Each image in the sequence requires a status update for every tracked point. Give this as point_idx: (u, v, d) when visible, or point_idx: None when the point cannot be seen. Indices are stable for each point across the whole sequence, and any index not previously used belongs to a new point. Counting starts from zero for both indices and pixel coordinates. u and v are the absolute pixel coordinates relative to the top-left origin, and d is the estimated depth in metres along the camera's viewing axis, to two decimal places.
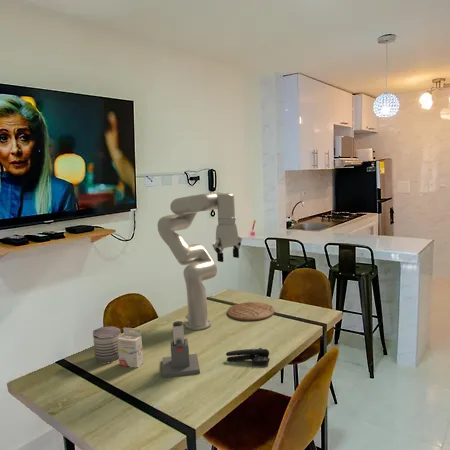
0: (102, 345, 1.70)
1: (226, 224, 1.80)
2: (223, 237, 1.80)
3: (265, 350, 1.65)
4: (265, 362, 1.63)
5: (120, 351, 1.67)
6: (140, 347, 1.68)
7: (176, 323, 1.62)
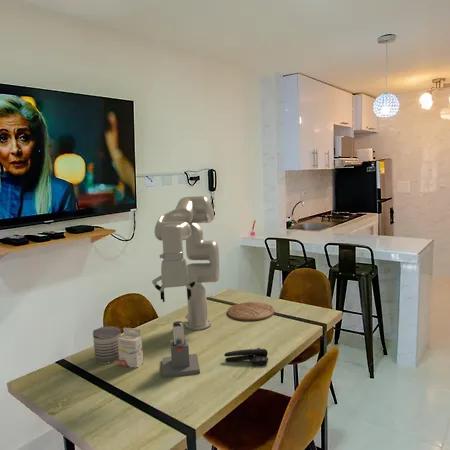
0: (102, 345, 1.70)
1: None
2: None
3: (264, 350, 1.65)
4: (264, 362, 1.63)
5: (120, 351, 1.67)
6: (140, 347, 1.68)
7: (176, 323, 1.62)
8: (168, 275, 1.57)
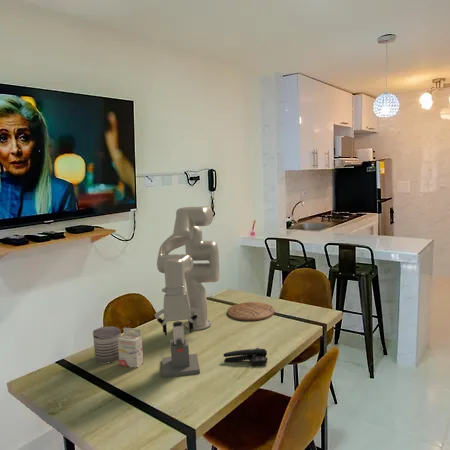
0: (102, 345, 1.70)
1: None
2: None
3: (263, 350, 1.65)
4: (263, 362, 1.63)
5: (120, 351, 1.67)
6: (140, 347, 1.68)
7: (176, 323, 1.62)
8: (170, 309, 1.59)
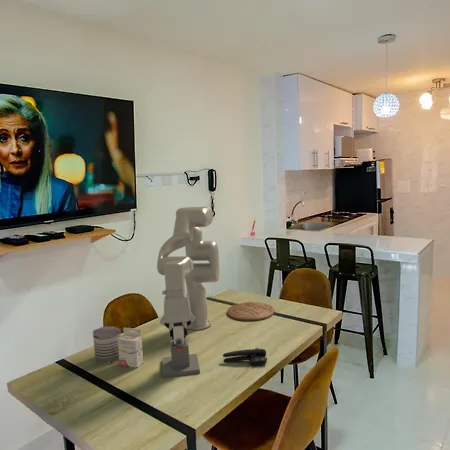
0: (102, 345, 1.70)
1: None
2: None
3: (262, 350, 1.65)
4: (263, 362, 1.63)
5: (120, 351, 1.67)
6: (140, 347, 1.68)
7: (176, 323, 1.62)
8: (170, 311, 1.59)
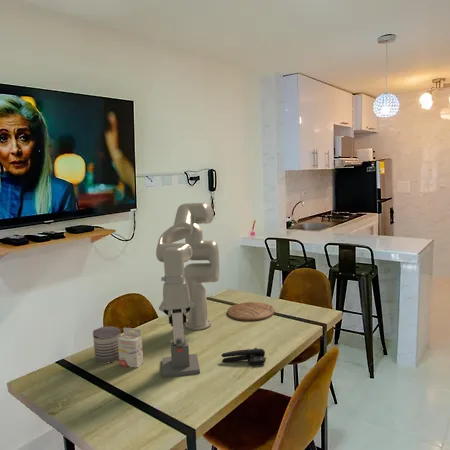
0: (102, 345, 1.70)
1: None
2: None
3: (261, 350, 1.66)
4: (262, 362, 1.63)
5: (120, 351, 1.67)
6: (140, 347, 1.68)
7: (175, 310, 1.61)
8: (169, 298, 1.58)
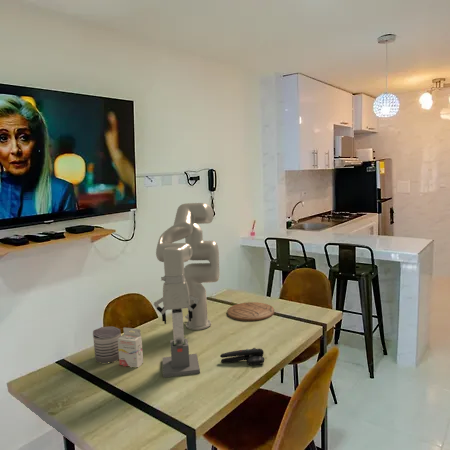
0: (102, 345, 1.70)
1: None
2: None
3: (260, 350, 1.66)
4: (261, 362, 1.63)
5: (120, 351, 1.67)
6: (140, 347, 1.68)
7: (175, 310, 1.61)
8: (169, 297, 1.58)
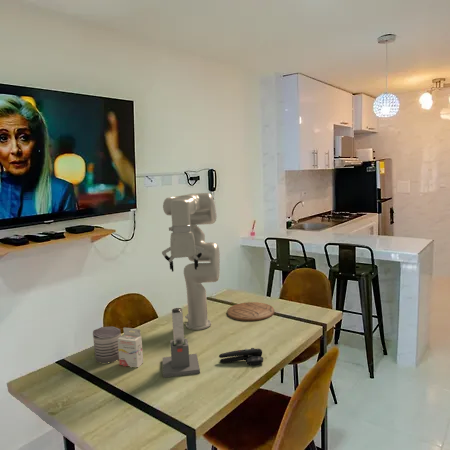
0: (102, 345, 1.70)
1: None
2: None
3: (258, 350, 1.66)
4: (259, 361, 1.63)
5: (120, 351, 1.67)
6: (140, 347, 1.68)
7: (175, 310, 1.61)
8: (176, 246, 1.69)
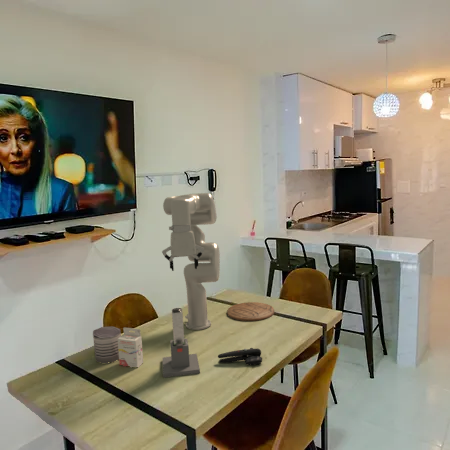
0: (102, 345, 1.70)
1: None
2: None
3: (257, 349, 1.66)
4: (258, 361, 1.63)
5: (120, 351, 1.67)
6: (140, 347, 1.68)
7: (175, 310, 1.61)
8: (177, 245, 1.69)
